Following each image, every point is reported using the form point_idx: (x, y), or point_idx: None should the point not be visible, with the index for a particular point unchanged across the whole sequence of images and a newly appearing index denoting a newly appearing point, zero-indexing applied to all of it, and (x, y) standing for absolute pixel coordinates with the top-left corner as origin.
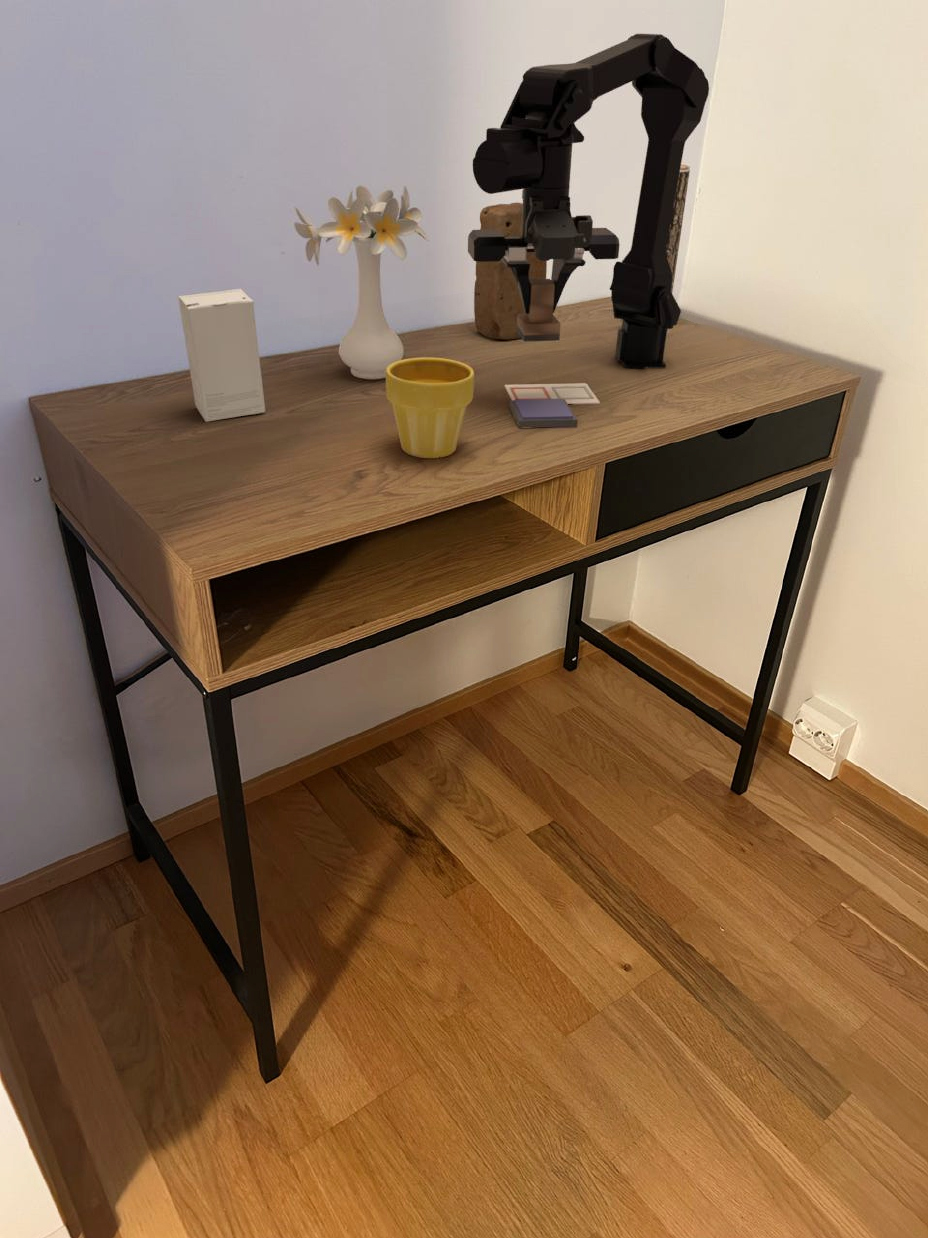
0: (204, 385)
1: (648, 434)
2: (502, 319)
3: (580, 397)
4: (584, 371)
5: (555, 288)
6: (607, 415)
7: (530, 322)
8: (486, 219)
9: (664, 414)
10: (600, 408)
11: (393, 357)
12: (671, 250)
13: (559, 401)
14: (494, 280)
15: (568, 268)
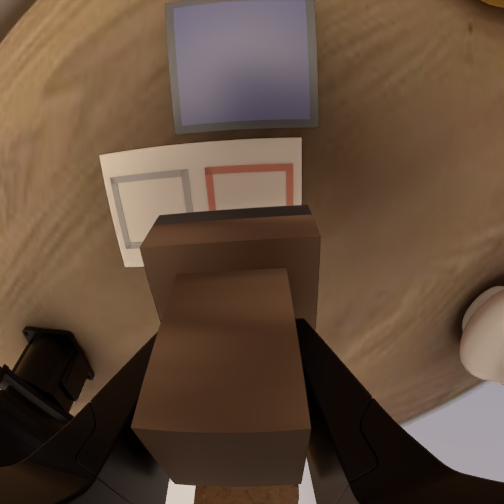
0: None
1: (41, 5)
2: None
3: (137, 180)
4: (132, 327)
5: (134, 410)
6: (92, 87)
7: (284, 266)
8: None
9: (3, 115)
10: (101, 127)
11: (495, 307)
12: None
13: (191, 104)
14: (279, 502)
15: (1, 491)
